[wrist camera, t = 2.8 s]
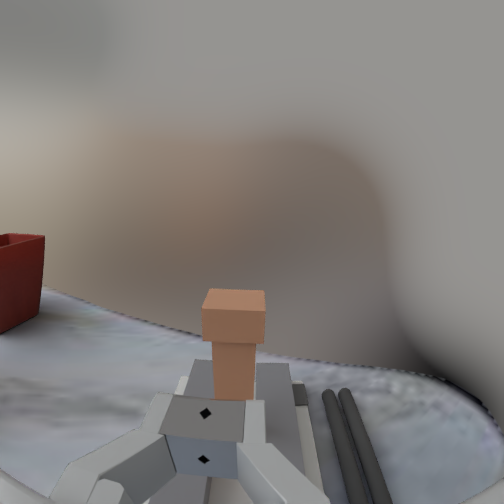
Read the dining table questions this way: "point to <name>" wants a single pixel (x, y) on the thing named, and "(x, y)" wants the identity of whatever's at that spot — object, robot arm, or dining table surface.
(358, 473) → the twin grey rods
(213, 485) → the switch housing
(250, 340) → the breaker handle
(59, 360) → the dining table surface
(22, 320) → the plant pot
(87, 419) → the dining table surface
